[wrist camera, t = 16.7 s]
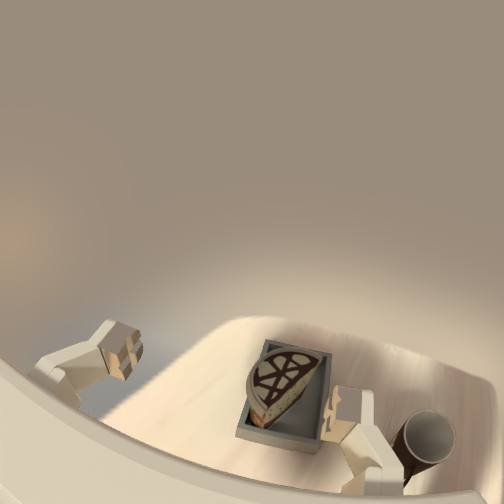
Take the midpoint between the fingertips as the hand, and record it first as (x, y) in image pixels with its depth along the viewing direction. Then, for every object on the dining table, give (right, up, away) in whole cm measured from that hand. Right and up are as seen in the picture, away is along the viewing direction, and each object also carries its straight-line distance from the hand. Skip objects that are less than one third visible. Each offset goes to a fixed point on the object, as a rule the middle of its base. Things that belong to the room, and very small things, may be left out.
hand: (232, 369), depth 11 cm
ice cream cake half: (+3, -18, +31) cm, 36 cm away
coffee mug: (+21, -28, +22) cm, 41 cm away
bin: (+6, -19, +33) cm, 38 cm away
